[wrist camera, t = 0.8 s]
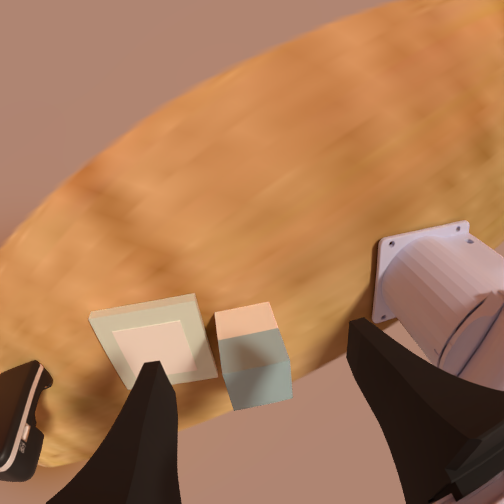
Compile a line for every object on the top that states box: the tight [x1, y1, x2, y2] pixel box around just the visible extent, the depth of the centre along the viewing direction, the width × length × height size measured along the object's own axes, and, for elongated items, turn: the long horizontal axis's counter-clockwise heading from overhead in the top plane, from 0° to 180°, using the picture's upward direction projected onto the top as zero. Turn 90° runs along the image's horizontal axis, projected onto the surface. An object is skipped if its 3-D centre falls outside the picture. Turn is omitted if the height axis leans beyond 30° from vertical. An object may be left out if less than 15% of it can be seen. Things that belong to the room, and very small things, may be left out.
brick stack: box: [214, 302, 293, 411], centre depth 22 cm, size 4×4×6 cm
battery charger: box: [0, 361, 53, 482], centre depth 19 cm, size 7×4×11 cm, turn 112°
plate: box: [88, 293, 218, 390], centre depth 23 cm, size 8×8×1 cm
